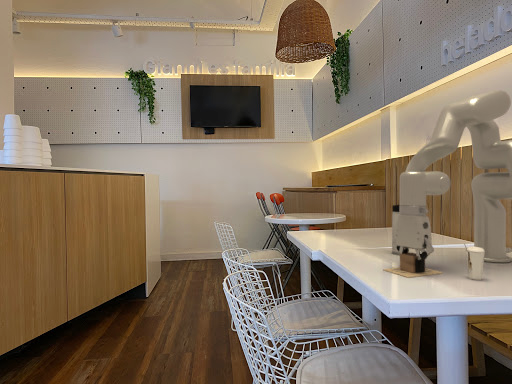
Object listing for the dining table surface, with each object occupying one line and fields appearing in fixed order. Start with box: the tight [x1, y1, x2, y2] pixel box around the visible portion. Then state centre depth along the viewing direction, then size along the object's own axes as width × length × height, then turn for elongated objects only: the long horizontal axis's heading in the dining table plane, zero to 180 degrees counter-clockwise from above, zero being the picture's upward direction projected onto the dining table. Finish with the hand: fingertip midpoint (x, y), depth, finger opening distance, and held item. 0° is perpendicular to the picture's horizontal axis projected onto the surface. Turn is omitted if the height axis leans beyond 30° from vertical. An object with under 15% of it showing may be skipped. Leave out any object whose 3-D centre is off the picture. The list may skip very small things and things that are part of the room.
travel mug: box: [391, 204, 410, 256], centre depth 133 cm, size 6×7×20 cm
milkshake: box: [463, 243, 485, 281], centre depth 96 cm, size 4×5×10 cm
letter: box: [382, 266, 444, 279], centre depth 104 cm, size 14×10×1 cm
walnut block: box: [399, 252, 425, 273], centre depth 104 cm, size 5×5×5 cm
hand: (412, 269), depth 104 cm, fingers closed on walnut block, 5 cm apart
